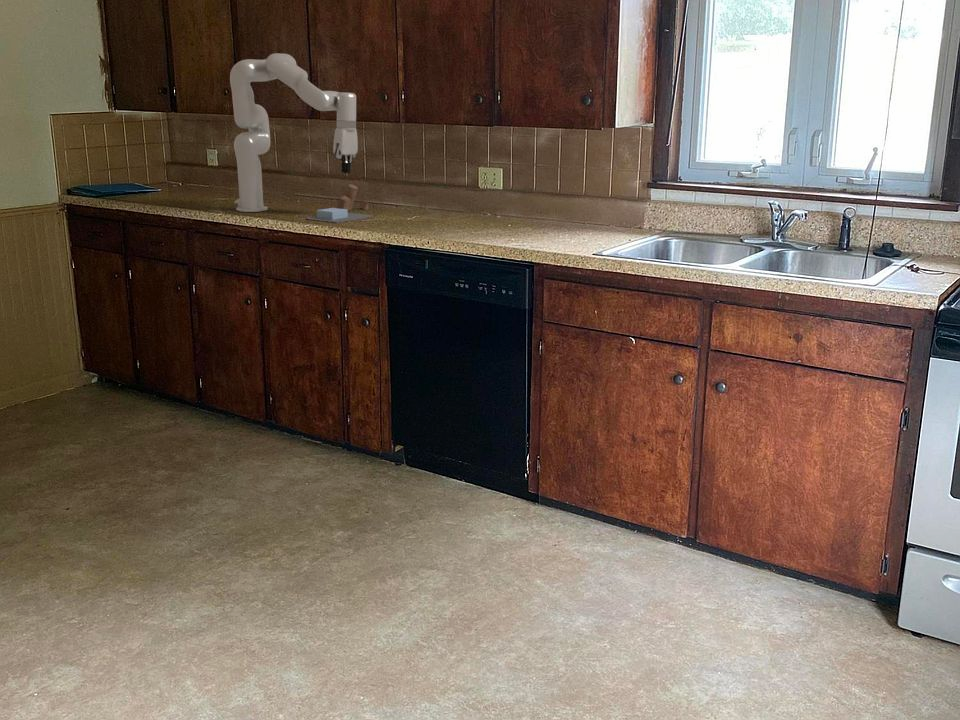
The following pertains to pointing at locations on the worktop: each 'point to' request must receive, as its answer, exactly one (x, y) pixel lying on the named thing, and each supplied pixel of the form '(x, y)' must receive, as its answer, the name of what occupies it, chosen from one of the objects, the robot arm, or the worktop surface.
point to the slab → (332, 213)
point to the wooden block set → (350, 199)
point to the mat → (350, 217)
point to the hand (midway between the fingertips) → (346, 172)
